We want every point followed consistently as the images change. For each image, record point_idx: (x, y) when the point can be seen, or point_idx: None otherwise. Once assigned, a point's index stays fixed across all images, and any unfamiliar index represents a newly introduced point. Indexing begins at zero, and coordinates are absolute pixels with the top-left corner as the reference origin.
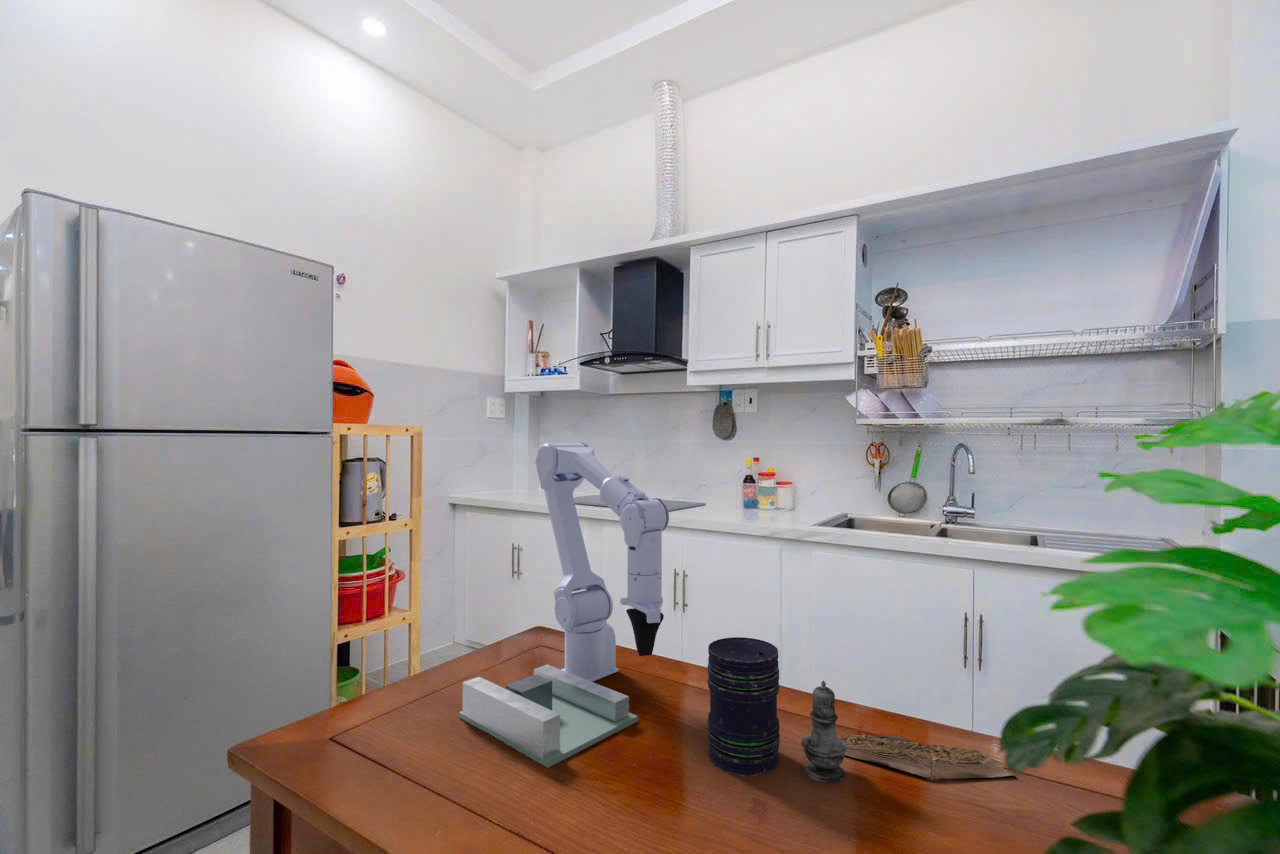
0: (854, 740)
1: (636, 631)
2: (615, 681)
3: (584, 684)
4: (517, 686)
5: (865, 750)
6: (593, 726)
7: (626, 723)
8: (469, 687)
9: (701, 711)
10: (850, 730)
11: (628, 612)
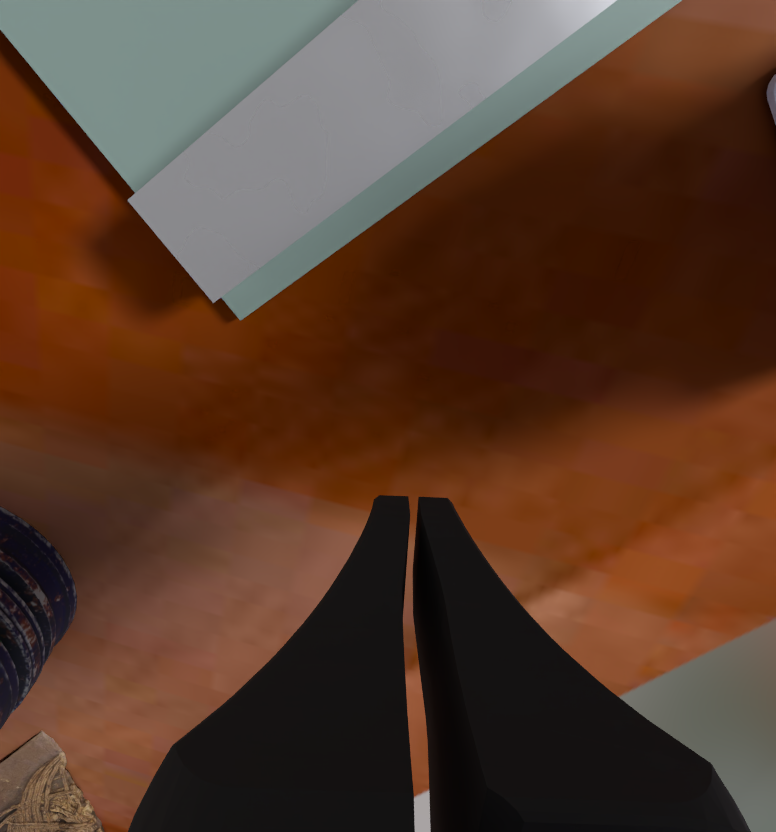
0: (62, 812)
1: (291, 642)
2: (735, 303)
3: (466, 12)
4: None
5: (14, 810)
6: (140, 47)
7: None
8: None
9: (298, 563)
10: (130, 822)
11: (520, 829)
